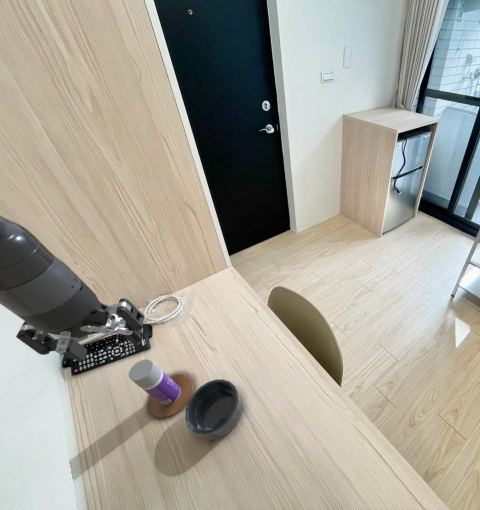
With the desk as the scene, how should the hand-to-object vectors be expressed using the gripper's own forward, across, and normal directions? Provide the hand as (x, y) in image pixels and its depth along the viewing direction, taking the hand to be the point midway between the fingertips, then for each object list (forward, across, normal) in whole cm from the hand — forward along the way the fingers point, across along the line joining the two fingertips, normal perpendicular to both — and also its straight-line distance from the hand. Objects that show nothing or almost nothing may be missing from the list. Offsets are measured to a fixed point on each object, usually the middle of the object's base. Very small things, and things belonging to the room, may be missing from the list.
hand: (112, 348), depth 48 cm
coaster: (+26, 0, +1) cm, 26 cm away
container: (+26, 0, +1) cm, 26 cm away
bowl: (+26, +11, -7) cm, 29 cm away
